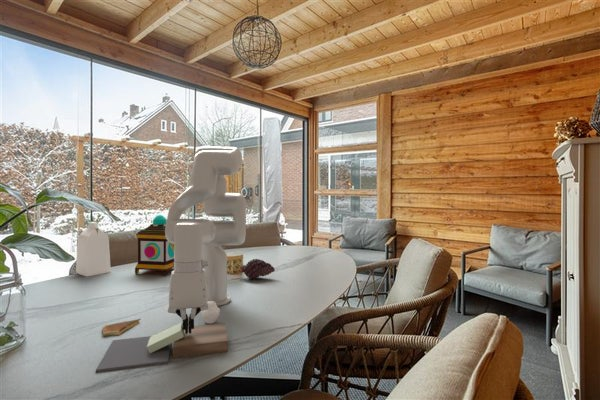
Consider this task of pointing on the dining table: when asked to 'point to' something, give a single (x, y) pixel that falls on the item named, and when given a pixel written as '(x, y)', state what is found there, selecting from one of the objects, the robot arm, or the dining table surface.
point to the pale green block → (165, 337)
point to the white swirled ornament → (211, 312)
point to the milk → (93, 251)
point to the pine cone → (256, 268)
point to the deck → (202, 341)
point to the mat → (132, 354)
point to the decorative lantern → (155, 248)
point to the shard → (119, 327)
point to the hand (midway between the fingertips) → (188, 331)
